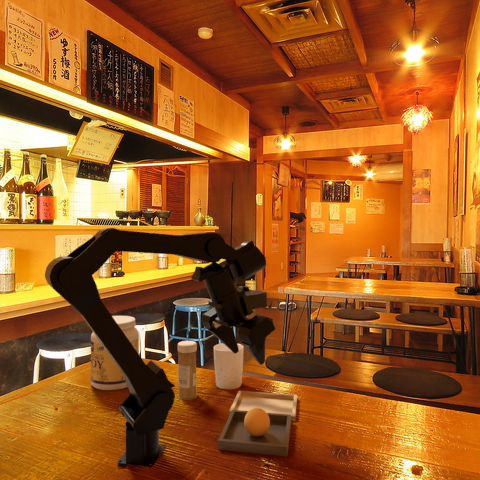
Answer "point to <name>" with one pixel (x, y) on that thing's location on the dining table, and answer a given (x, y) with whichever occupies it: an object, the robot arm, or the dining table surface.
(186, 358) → the sprinkles bottle
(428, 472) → the dining table surface
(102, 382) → the supplement tub
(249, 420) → the ball
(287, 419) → the dish
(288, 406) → the tray
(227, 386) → the white cup
